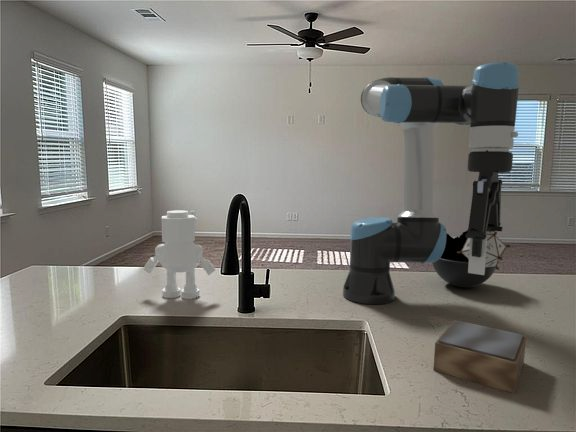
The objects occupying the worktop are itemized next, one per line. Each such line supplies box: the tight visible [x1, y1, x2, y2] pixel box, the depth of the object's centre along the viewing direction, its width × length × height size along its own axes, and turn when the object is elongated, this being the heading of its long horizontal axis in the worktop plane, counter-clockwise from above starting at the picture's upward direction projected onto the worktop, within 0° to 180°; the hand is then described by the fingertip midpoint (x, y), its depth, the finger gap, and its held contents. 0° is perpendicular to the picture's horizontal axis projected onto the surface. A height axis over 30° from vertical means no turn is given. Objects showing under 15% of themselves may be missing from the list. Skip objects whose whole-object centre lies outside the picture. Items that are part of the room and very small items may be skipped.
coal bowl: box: [431, 229, 497, 288], centre depth 137 cm, size 20×20×19 cm
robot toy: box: [143, 209, 216, 300], centre depth 124 cm, size 22×12×25 cm, turn 84°
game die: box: [457, 228, 512, 271], centre depth 82 cm, size 9×8×10 cm
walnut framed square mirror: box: [433, 319, 527, 394], centre depth 84 cm, size 14×14×6 cm
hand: (482, 268), depth 82 cm, fingers closed on game die, 10 cm apart
